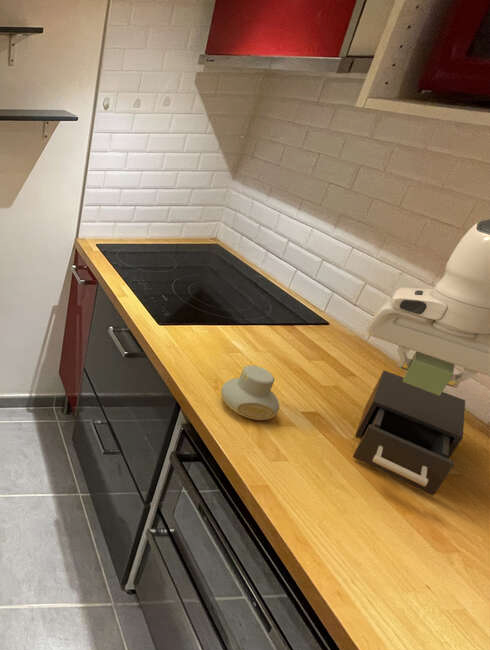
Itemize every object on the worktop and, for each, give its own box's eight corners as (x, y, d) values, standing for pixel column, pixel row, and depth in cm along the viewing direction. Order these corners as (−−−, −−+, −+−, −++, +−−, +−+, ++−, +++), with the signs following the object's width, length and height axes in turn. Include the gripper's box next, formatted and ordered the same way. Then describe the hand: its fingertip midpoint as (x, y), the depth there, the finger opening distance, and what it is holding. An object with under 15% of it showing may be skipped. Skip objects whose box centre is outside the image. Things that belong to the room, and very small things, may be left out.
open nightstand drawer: (431, 513, 77) (452, 481, 74) (347, 471, 84) (364, 440, 81) (438, 455, 88) (457, 425, 85) (364, 422, 96) (379, 394, 93)
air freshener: (223, 416, 98) (236, 380, 94) (214, 391, 105) (225, 357, 101) (279, 427, 95) (295, 390, 91) (266, 401, 103) (280, 366, 98)
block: (441, 383, 82) (454, 362, 80) (439, 396, 79) (453, 373, 77) (405, 370, 86) (417, 349, 84) (402, 381, 83) (414, 360, 81)
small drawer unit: (438, 474, 85) (463, 437, 81) (354, 436, 93) (373, 400, 89) (443, 435, 94) (465, 400, 90) (366, 403, 102) (383, 370, 99)
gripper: (556, 330, 71) (510, 398, 77) (387, 284, 85) (359, 344, 91) (560, 346, 67) (511, 415, 73) (382, 295, 81) (353, 356, 87)
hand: (425, 375), depth 82 cm, fingers closed on block, 5 cm apart
